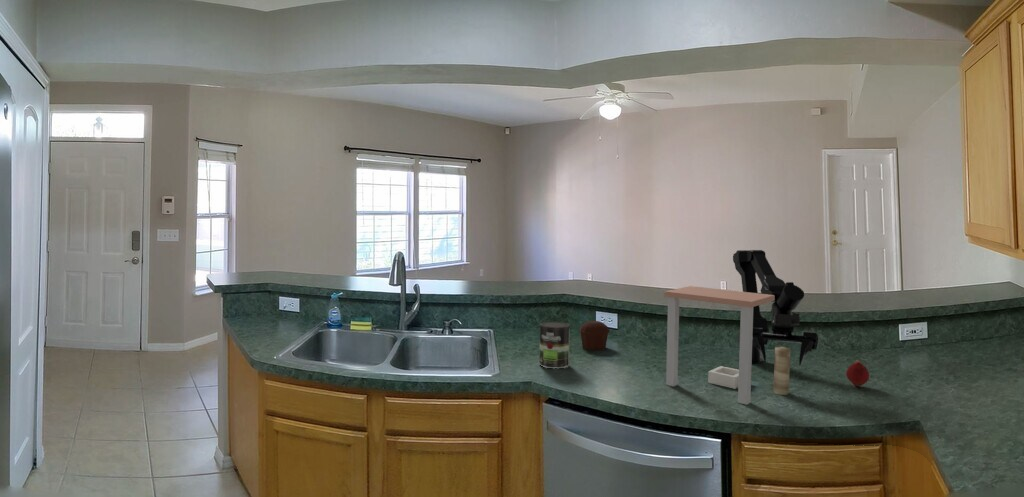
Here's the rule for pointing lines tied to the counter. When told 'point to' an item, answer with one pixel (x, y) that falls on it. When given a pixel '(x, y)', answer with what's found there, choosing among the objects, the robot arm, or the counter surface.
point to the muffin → (594, 335)
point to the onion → (857, 373)
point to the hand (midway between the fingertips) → (782, 362)
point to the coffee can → (554, 344)
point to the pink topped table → (746, 329)
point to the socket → (724, 377)
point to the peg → (781, 370)
